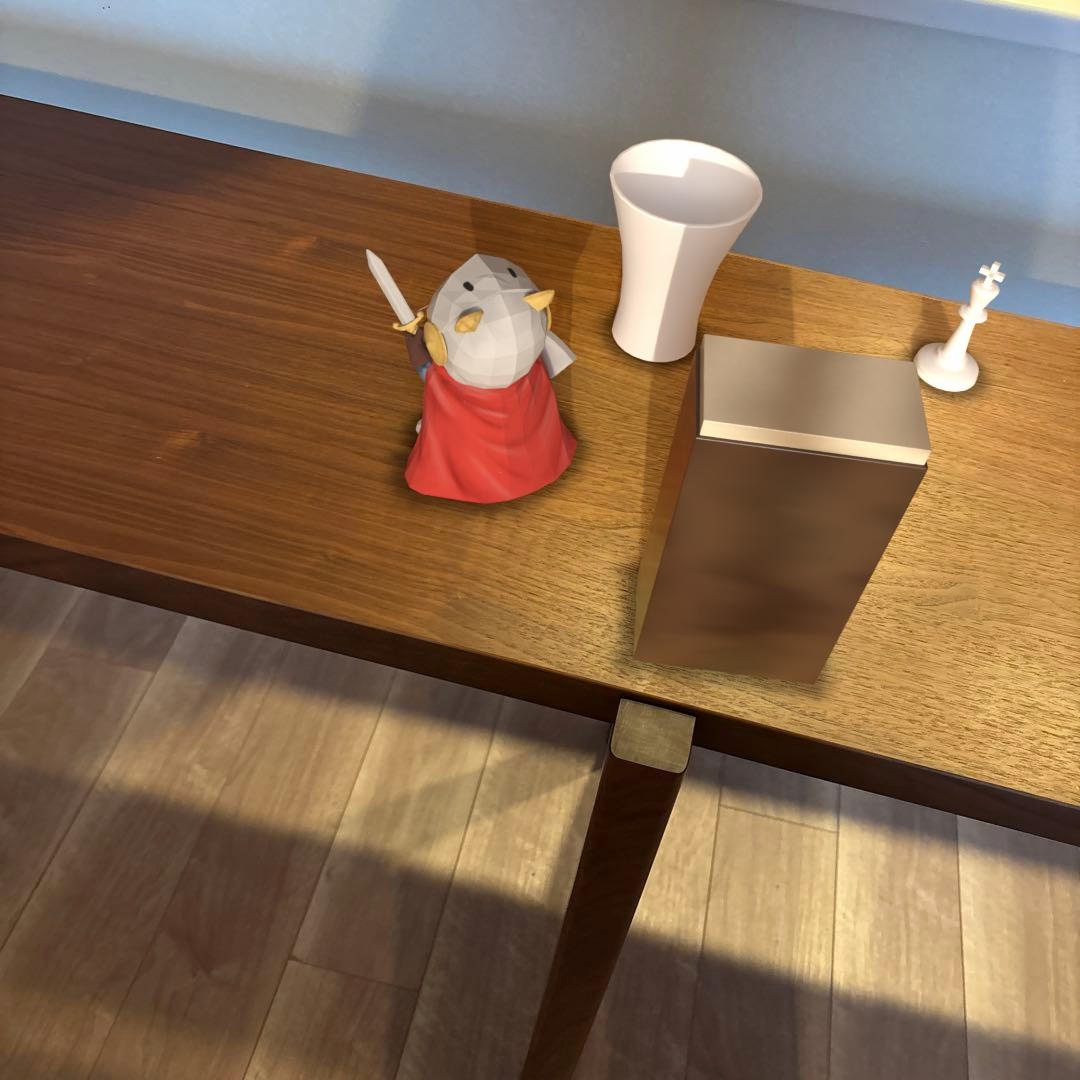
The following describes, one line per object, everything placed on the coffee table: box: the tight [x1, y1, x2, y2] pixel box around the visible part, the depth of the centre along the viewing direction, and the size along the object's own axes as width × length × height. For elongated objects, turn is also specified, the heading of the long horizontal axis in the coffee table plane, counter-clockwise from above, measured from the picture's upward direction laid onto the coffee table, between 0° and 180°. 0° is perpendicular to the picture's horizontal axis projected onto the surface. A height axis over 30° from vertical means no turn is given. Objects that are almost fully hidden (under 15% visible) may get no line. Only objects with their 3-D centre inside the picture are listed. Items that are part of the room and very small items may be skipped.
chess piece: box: [912, 260, 1007, 392], centre depth 82 cm, size 5×5×10 cm
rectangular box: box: [632, 333, 932, 685], centre depth 60 cm, size 11×6×20 cm, turn 84°
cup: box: [609, 138, 764, 363], centre depth 80 cm, size 10×10×14 cm
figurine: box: [365, 248, 579, 505], centre depth 71 cm, size 13×11×15 cm
